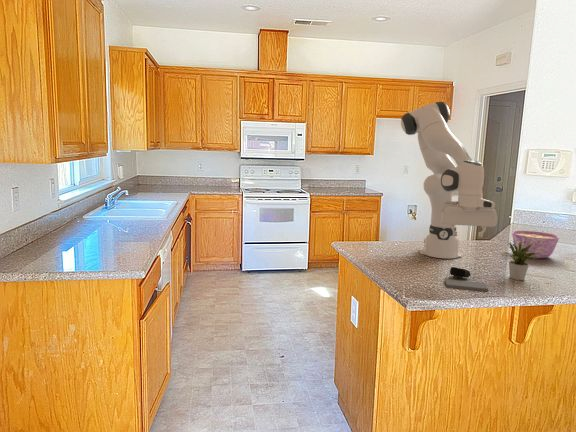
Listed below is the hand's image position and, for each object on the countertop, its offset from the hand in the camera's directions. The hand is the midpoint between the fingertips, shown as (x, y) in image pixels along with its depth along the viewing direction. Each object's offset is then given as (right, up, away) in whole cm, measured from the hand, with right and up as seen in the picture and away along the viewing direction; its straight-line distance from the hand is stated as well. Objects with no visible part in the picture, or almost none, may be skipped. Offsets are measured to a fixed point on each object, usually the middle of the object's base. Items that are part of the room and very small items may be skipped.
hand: (467, 236), depth 170 cm
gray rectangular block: (-5, -18, -12) cm, 22 cm away
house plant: (+19, -17, +1) cm, 26 cm away
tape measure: (-3, -17, -5) cm, 17 cm away
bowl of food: (+48, -12, +39) cm, 63 cm away
